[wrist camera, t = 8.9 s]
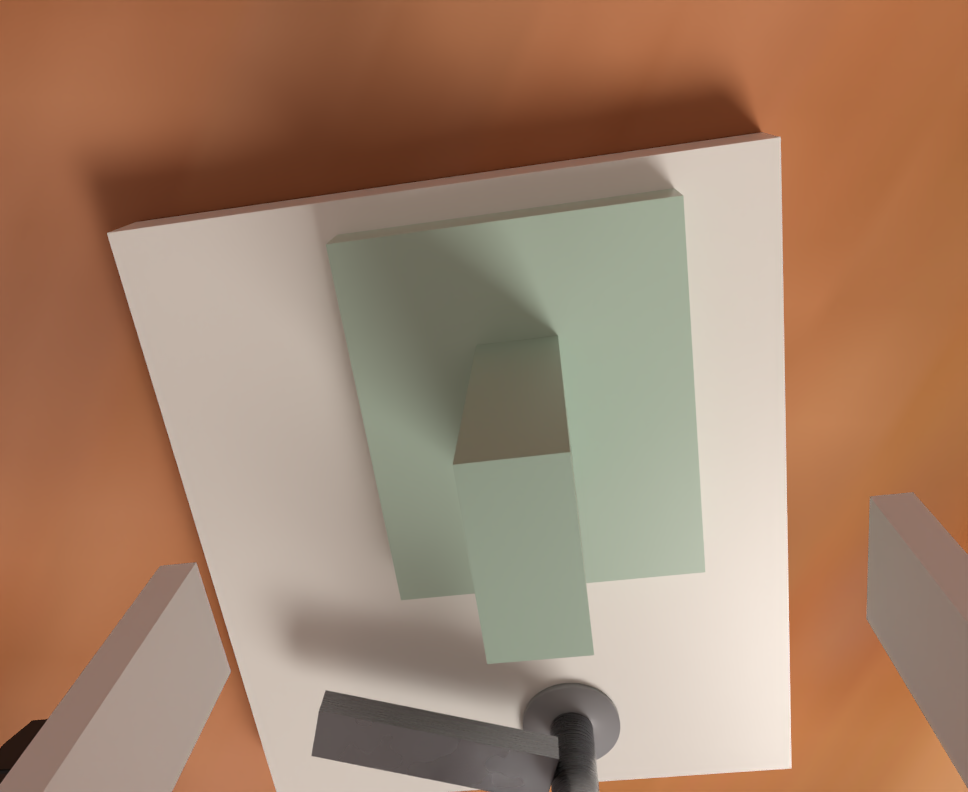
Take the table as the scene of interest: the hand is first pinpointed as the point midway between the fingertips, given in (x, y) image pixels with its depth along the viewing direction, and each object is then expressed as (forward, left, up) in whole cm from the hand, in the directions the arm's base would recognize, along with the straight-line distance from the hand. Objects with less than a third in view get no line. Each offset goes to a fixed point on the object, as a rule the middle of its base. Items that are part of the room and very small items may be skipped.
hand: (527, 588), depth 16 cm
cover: (0, 0, -11) cm, 11 cm away
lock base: (-5, +2, -13) cm, 14 cm away
